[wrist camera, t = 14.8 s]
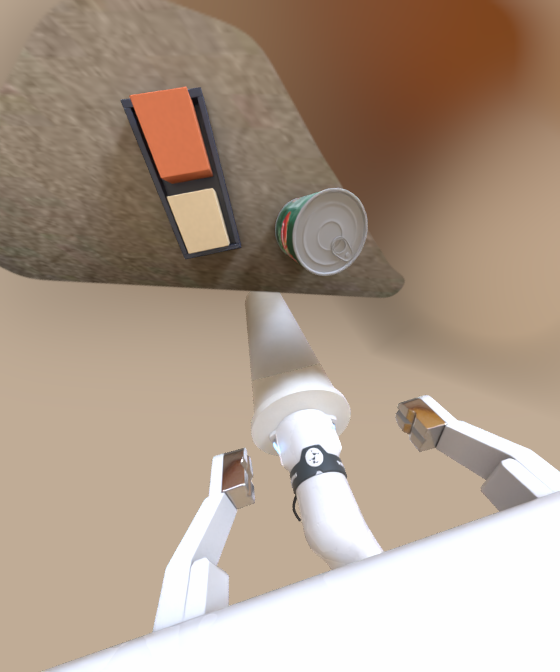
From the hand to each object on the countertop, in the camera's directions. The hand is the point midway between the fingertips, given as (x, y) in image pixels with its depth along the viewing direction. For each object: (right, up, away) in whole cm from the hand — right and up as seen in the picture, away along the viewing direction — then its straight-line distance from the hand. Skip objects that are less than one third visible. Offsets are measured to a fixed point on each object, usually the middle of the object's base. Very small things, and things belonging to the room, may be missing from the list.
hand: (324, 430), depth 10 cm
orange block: (-13, +26, +12) cm, 32 cm away
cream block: (-12, +20, +16) cm, 28 cm away
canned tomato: (+1, +21, +19) cm, 28 cm away
